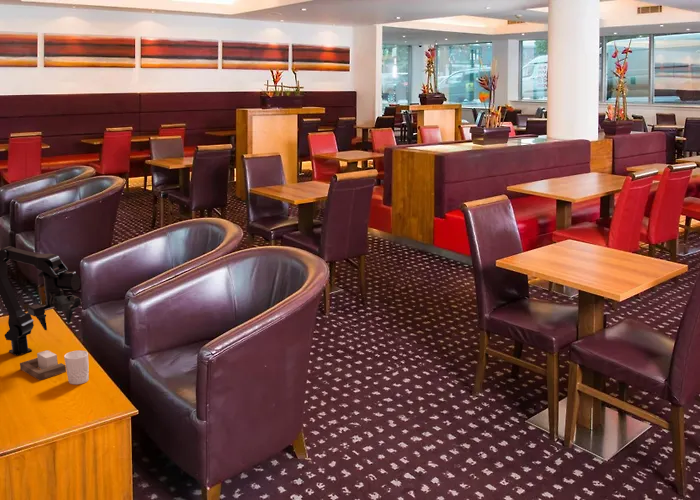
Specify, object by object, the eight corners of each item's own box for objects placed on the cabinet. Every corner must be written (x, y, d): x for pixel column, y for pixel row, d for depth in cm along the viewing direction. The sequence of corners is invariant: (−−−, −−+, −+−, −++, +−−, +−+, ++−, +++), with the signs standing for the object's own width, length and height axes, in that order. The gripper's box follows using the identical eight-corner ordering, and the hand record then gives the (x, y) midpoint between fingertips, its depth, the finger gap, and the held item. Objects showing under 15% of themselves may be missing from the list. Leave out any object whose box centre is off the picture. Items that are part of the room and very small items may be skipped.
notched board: (20, 369, 268) (19, 363, 268) (46, 361, 276) (45, 355, 275) (39, 380, 259) (38, 373, 259) (66, 371, 267) (65, 365, 266)
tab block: (38, 368, 270) (37, 353, 268) (49, 364, 273) (47, 350, 271) (47, 373, 265) (46, 358, 264) (58, 370, 268) (56, 354, 267)
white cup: (75, 387, 254) (72, 360, 251) (62, 381, 258) (59, 355, 256) (95, 379, 260) (92, 353, 257) (82, 374, 265) (79, 348, 262)
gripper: (39, 298, 262) (44, 338, 266) (87, 286, 275) (90, 325, 279) (24, 292, 269) (29, 331, 273) (72, 280, 282) (75, 318, 286)
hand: (57, 326), depth 278 cm, fingers open, 9 cm apart
